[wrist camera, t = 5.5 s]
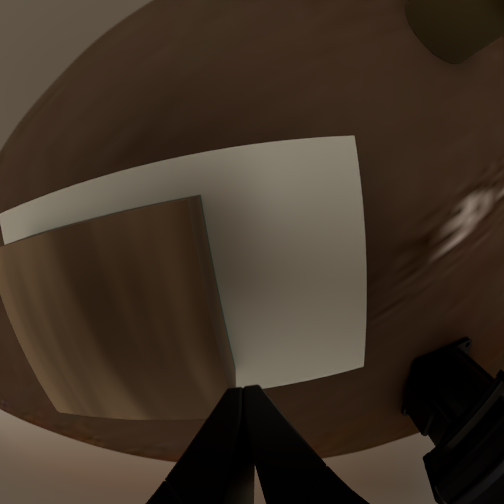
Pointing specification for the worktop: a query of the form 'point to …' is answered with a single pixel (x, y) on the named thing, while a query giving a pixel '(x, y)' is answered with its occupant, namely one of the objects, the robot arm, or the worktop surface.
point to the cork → (456, 25)
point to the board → (256, 246)
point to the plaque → (122, 313)
